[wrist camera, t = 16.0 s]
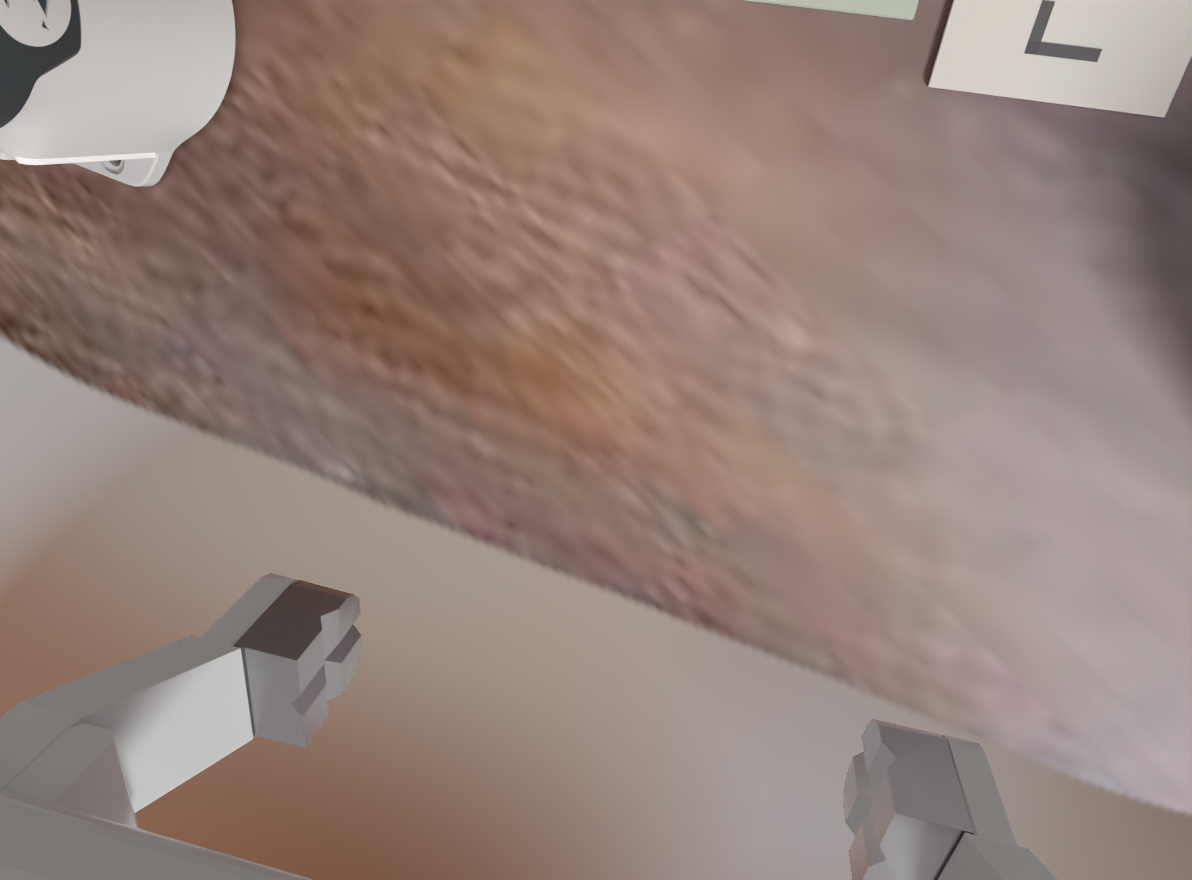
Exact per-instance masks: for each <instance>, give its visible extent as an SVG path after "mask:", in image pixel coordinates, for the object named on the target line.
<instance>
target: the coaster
mask: <svg viewBox="0 0 1192 880" xmlns="http://www.w3.org/2000/svg"><path fill="white" fill-rule="evenodd" d="M746 1H754V2H762V3H771V4H779V5H788V6H796V7H804V8H813V9H821V10H830V11H838V12H846V13H855V14H863V15H872V16H880V17H888V18H897V19H905V20H913V19H914V15H915V12H916V8H917V5H918V1H919V0H746Z"/></svg>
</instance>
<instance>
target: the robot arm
mask: <svg viewBox="0 0 1192 880" xmlns="http://www.w3.org/2000/svg"><path fill="white" fill-rule="evenodd" d="M234 55H235V20H234V12H233V5H232V0H0V159H3V160H16V161H17V162H18V163H20V164H27V165H46V164H63V163H74V164H76V165H79V166H81V167H84V168H87V169H89V170H92V171H94V172H97V173H100V174H102V175H105V176H107V177H110V178H112V179H115V180H118V181H120V182H123V183H125V184H128V185H131V186H152V185H155V184H156V183H157V182H158V181H159V180H160V179H161V177H162V175H163V174H164V172H165V170H166V168H167V166H168V163H169V161H170V159H171V156H172V154H173V152H174V150H175V149H176V148H177V147H178V146H179V145H180V144H181V143H183V142H184V141H185V140H187V139H188V138H190V137H191V136H193V135H194V134H195V133H197V132H198V131H199V130H200V129H202V128H203V127H204V126H205V125H206V124H207V123H208V122H209V120H210V119H211V118H212V117H213V115H214V114H215V112H216V111H217V109H218V108H219V106H220V104H221V102H222V100H223V98H224V96H225V93H226V91H227V88H228V85H229V82H230V78H231V74H232V69H233V64H234ZM119 160H121V162H120V161H119ZM359 616H360V603H359V598H358V597H356V596H355V595H353V594H349V593H346V592H342V591H338V590H334V589H331V588H327V587H323V586H320V585H316V584H312V583H308V582H305V581H301V580H295V579H291V578H287V577H284V576H280V575H276V574H272V573H271V574H268V575H265V576H263V577H261V578H260V579H259V580H258V581H257V582H256V583H255V584H254V585H253V586H252V587H251V588H250V589H249V590H248V591H247V592H246V593H245V594H244V595H243V596H242V597H241V598H240V599H239V600H238V601H237V602H236V603H235V604H234V605H233V606H232V607H231V608H230V609H229V610H228V611H227V612H226V613H225V614H224V615H223V616H222V617H221V618H219V619H218V620H217V621H216V622H215V624H213V625H212V626H211V628H209V629H208V631H206V632H205V633H204V634H203V635H202V636H201V637H200V638H199V637H195V636H190V637H187V638H184V639H182V640H179V641H177V642H174V643H171V644H169V645H166V646H163V647H161V648H158V649H156V650H153V651H151V652H148V653H145V654H143V655H140V656H138V657H135V658H133V659H130V660H127V661H125V662H122V663H119V664H117V665H114V666H112V667H109V668H107V669H104V670H101V671H99V672H96V673H94V674H91V675H88V676H86V677H83V678H81V679H78V680H75V681H73V682H70V683H68V684H65V685H63V686H60V687H57V688H55V689H52V690H49V691H47V692H44V693H42V694H39V695H37V696H34V697H31V698H29V699H26V700H24V701H21V702H20V703H18V704H17V705H16V706H15V707H14V708H12V709H11V710H10V711H9V712H8V713H6V714H5V715H4V716H3V717H2V718H0V880H312V879H309V878H306V877H302V876H299V875H295V874H292V873H289V872H285V871H282V870H278V869H275V868H272V867H268V866H264V865H261V864H258V863H254V862H251V861H248V860H244V859H241V858H237V857H234V856H230V855H227V854H224V853H220V852H217V851H213V850H210V849H207V848H203V847H200V846H196V845H193V844H190V843H186V842H183V841H179V840H176V839H172V838H169V837H166V836H162V835H159V834H155V833H152V832H149V831H145V830H142V829H139V827H138V824H137V820H136V816H135V813H136V812H137V811H138V810H140V809H142V808H143V807H145V806H147V805H148V804H150V803H151V802H153V801H155V800H156V799H158V798H159V797H161V796H163V795H164V794H166V793H167V792H169V791H171V790H172V789H174V788H175V787H177V786H179V785H180V784H182V783H183V782H185V781H187V780H188V779H190V778H191V777H193V776H195V775H196V774H198V773H199V772H201V771H203V770H204V769H206V768H207V767H209V766H211V765H212V764H214V763H215V762H217V761H219V760H220V759H222V758H223V757H225V756H226V755H228V754H230V753H231V752H233V751H234V750H236V749H238V748H239V747H241V746H242V745H244V744H246V743H247V742H249V741H251V740H252V739H253V736H258V737H262V738H266V739H270V740H274V741H279V742H283V743H287V744H291V745H296V746H300V747H304V748H305V747H306V746H307V745H308V743H309V742H310V740H311V739H312V737H313V736H314V734H315V733H316V731H317V730H318V729H319V727H320V725H321V724H322V723H323V721H324V720H325V718H326V717H327V715H328V700H329V699H331V698H333V697H335V696H337V695H339V694H341V693H343V692H344V690H345V688H346V687H347V686H348V684H349V683H350V681H351V679H352V677H353V675H354V673H355V670H356V667H357V665H358V662H359V658H360V653H361V634H360V633H359V632H358V630H357V629H356V627H355V626H354V625H353V624H354V622H355V621H356V619H357V618H358V617H359ZM862 741H863V748H864V752H862V753H860V754H858V755H856V756H854V757H853V759H852V761H851V764H850V766H849V769H848V772H847V776H846V782H845V788H844V813H845V822H846V824H847V825H848V826H849V828H850V829H851V831H852V832H853V833H854V835H855V839H854V841H853V843H852V845H851V848H850V850H849V856H850V864H851V872H852V880H1057V879H1056V878H1055V877H1054V876H1053V875H1052V874H1051V873H1050V871H1049V870H1048V869H1047V868H1046V867H1045V866H1044V865H1043V864H1042V863H1041V862H1040V861H1039V860H1038V859H1037V858H1036V857H1035V855H1034V854H1033V853H1032V852H1031V851H1030V850H1029V849H1026V848H1023V847H1019V846H1017V844H1016V841H1015V838H1014V835H1013V832H1012V829H1011V826H1010V823H1009V820H1008V818H1007V815H1006V812H1005V809H1004V806H1003V803H1002V800H1001V797H1000V795H999V792H998V789H997V786H996V783H995V780H994V777H993V775H992V772H991V769H990V766H989V763H988V760H987V757H986V754H985V751H984V749H983V748H982V747H981V746H980V745H979V743H975V742H971V741H967V740H962V739H958V738H953V737H949V736H944V735H942V736H940V735H939V734H935V733H931V732H926V731H922V730H918V729H913V728H909V727H905V726H900V725H896V724H891V723H888V722H883V721H879V720H875V719H872V720H871V721H870V722H869V723H868V724H867V726H866V728H865V731H864V733H863V735H862Z"/></svg>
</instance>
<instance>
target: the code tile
mask: <svg viewBox="0 0 1192 880" xmlns="http://www.w3.org/2000/svg"><path fill="white" fill-rule="evenodd" d="M1191 56H1192V0H953V2H952V5H951V9H950V12H949V15H948V19H947V22H946V25H945V29H944V32H943V35H942V39H941V42H940V46H939V49H938V52H937V56H936V59H935V62H934V66H933V69H932V72H931V76H930V79H929V82H928V86H927V87H933V88H941V89H948V90H956V91H964V92H971V93H979V94H987V95H994V96H1002V97H1010V98H1017V99H1025V100H1033V101H1040V102H1048V103H1056V104H1063V105H1071V106H1079V107H1087V108H1094V109H1102V110H1110V111H1117V112H1125V113H1133V114H1140V115H1148V116H1156V117H1165V115H1166V113H1167V110H1168V108H1169V106H1170V104H1171V101H1172V99H1173V97H1174V94H1175V92H1176V90H1177V88H1178V85H1179V83H1180V81H1181V79H1182V76H1183V74H1184V72H1185V70H1186V67H1187V65H1188V63H1189V61H1190V58H1191Z"/></svg>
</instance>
